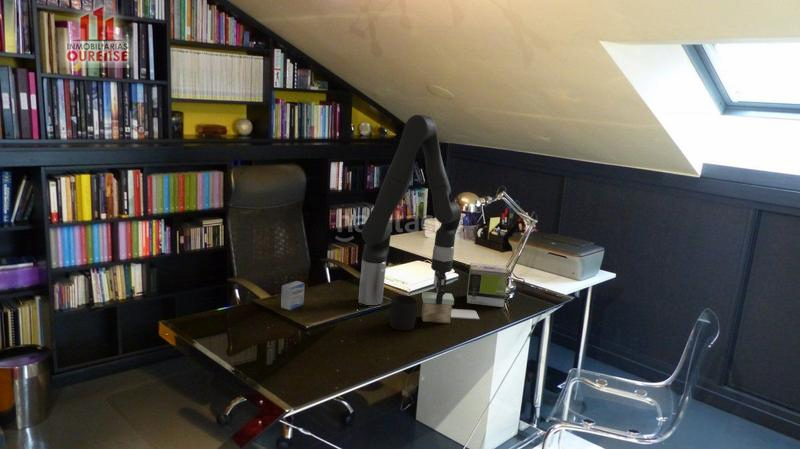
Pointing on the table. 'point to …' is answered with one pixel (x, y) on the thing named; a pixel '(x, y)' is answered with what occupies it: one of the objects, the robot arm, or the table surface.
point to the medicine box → (292, 295)
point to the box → (436, 313)
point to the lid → (431, 298)
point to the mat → (464, 314)
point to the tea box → (487, 284)
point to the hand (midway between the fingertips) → (437, 300)
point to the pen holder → (403, 312)
